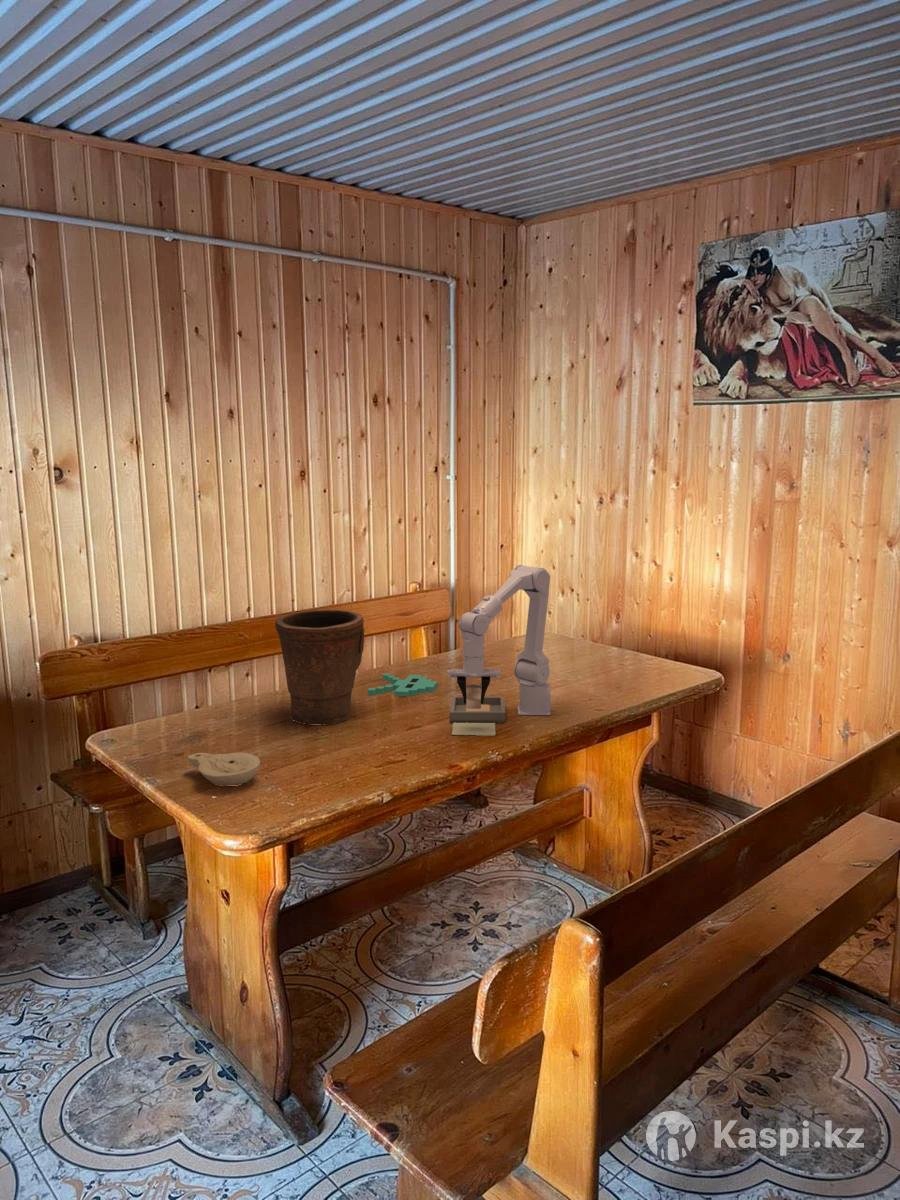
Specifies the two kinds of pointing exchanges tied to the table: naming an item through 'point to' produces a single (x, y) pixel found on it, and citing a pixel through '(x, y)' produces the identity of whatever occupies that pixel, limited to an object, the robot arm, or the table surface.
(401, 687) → the alien figure
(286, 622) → the clay pot
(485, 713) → the box
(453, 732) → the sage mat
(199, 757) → the oil lamp
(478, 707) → the brown block
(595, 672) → the table surface
